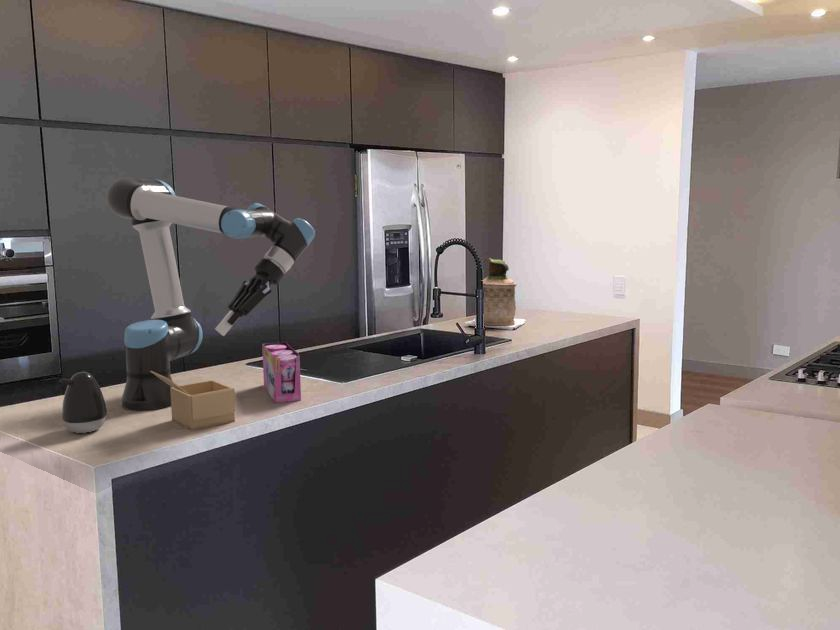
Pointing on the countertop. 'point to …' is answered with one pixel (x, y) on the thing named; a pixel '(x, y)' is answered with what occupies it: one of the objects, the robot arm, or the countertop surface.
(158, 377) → the front flap
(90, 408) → the pump dispenser
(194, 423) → the carton
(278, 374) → the gum box
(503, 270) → the cookie jar
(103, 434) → the countertop surface
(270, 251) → the robot arm
